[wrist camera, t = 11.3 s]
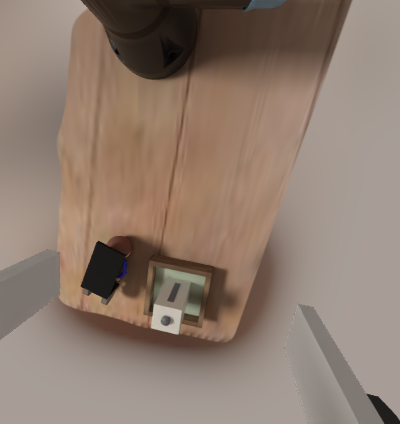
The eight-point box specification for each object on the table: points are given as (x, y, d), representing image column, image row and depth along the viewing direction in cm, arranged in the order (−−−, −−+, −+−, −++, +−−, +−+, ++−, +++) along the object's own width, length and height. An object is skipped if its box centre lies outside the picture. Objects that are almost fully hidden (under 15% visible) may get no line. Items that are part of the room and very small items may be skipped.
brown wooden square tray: (154, 254, 45) (149, 260, 42) (213, 266, 44) (212, 273, 41) (148, 305, 48) (143, 314, 45) (203, 318, 46) (201, 328, 44)
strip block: (168, 276, 44) (152, 306, 35) (191, 281, 44) (181, 312, 34) (165, 297, 45) (149, 330, 36) (187, 302, 45) (177, 337, 36)
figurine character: (123, 289, 50) (142, 240, 44) (103, 314, 42) (123, 259, 37) (98, 277, 50) (114, 226, 44) (75, 299, 43) (91, 242, 37)
